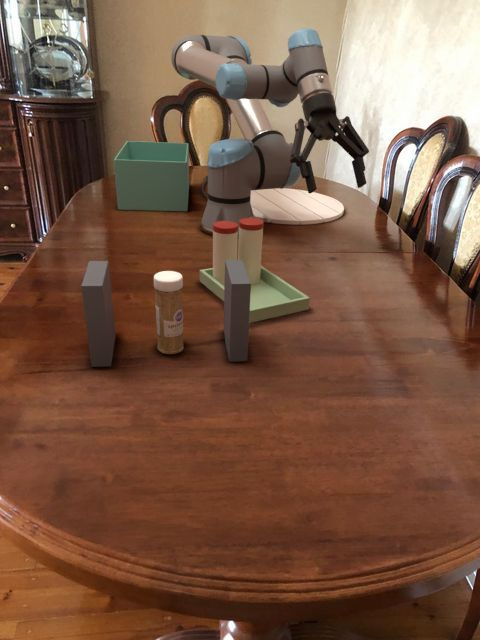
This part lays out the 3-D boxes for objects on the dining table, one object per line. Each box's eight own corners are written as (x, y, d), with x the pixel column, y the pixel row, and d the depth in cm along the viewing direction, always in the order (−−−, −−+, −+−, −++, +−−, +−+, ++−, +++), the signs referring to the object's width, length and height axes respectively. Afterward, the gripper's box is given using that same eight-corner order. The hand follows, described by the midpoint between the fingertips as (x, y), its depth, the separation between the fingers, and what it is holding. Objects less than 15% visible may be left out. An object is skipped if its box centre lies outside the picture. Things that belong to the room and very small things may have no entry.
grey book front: (91, 367, 83) (80, 285, 76) (98, 336, 92) (89, 260, 85) (110, 366, 84) (102, 285, 77) (115, 336, 92) (108, 260, 85)
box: (117, 209, 158) (113, 159, 151) (129, 184, 185) (126, 140, 178) (187, 211, 160) (186, 162, 153) (189, 186, 188) (188, 143, 180)
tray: (199, 284, 114) (199, 269, 112) (253, 274, 120) (254, 260, 118) (249, 326, 98) (250, 310, 96) (308, 312, 105) (310, 297, 103)
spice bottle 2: (233, 278, 115) (234, 219, 109) (252, 274, 118) (255, 216, 111) (244, 286, 112) (246, 226, 105) (264, 283, 114) (268, 223, 108)
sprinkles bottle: (177, 357, 87) (174, 282, 80) (152, 352, 88) (148, 277, 81) (188, 345, 91) (187, 272, 84) (164, 339, 92) (161, 267, 85)
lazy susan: (248, 229, 149) (249, 217, 147) (205, 194, 179) (205, 183, 178) (367, 219, 164) (368, 208, 162) (308, 188, 194) (309, 179, 192)
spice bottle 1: (208, 282, 113) (208, 222, 106) (229, 279, 115) (230, 219, 108) (219, 291, 109) (220, 229, 102) (240, 287, 111) (242, 226, 105)
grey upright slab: (229, 361, 87) (231, 283, 80) (223, 332, 95) (224, 259, 88) (247, 361, 87) (251, 283, 80) (239, 332, 96) (242, 259, 89)
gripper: (275, 92, 114) (297, 187, 114) (370, 89, 123) (390, 177, 123) (263, 109, 121) (283, 199, 121) (353, 106, 130) (372, 189, 130)
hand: (337, 188), depth 122 cm, fingers open, 13 cm apart
